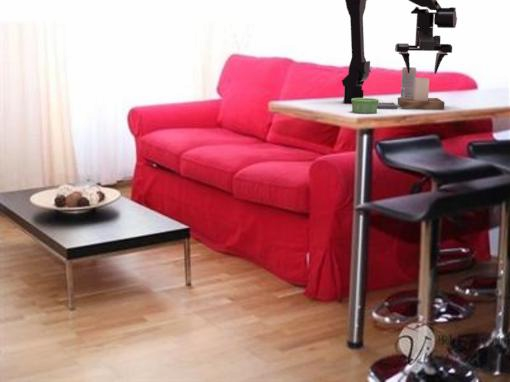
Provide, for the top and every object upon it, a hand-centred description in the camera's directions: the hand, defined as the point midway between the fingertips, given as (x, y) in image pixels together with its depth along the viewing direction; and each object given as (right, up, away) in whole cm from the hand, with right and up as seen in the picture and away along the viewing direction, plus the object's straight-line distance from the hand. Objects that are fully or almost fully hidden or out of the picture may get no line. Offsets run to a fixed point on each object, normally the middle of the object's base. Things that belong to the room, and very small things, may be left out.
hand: (421, 73), depth 266 cm
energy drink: (0, -6, +26) cm, 27 cm away
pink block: (0, -11, +3) cm, 12 cm away
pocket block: (0, -11, +3) cm, 12 cm away
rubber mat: (-14, -12, +1) cm, 18 cm away
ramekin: (-22, -15, -13) cm, 30 cm away
